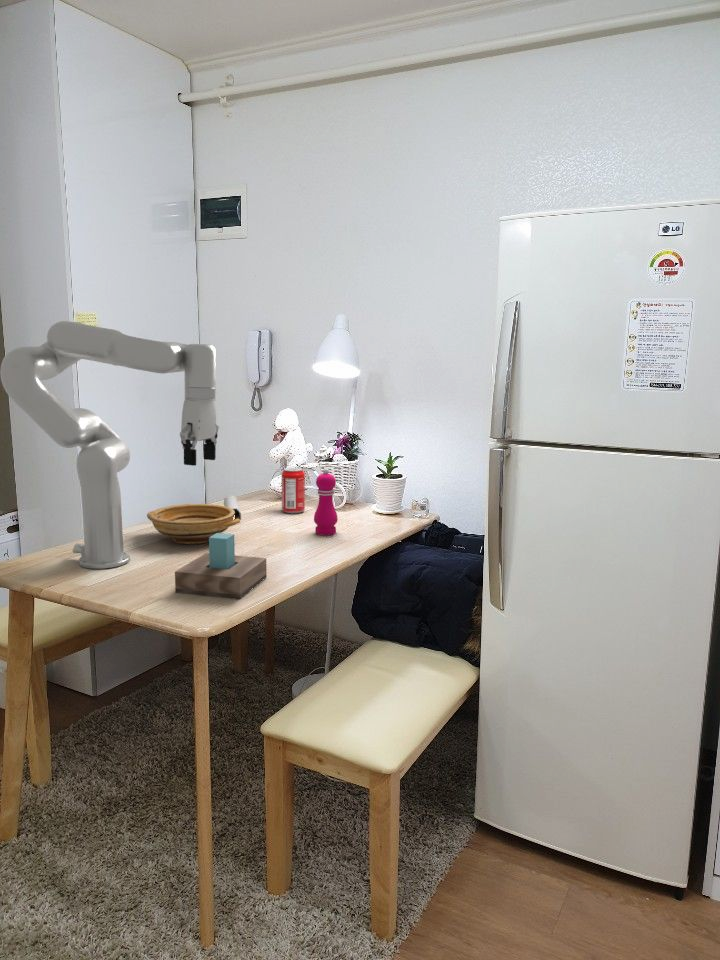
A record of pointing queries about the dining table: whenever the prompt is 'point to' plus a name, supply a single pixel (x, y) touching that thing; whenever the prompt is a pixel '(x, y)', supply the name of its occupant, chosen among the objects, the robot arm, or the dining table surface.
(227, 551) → the peg
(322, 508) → the pepper mill
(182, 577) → the bore block
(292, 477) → the soda can
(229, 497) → the tube
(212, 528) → the ceramic bowl
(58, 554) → the dining table surface
